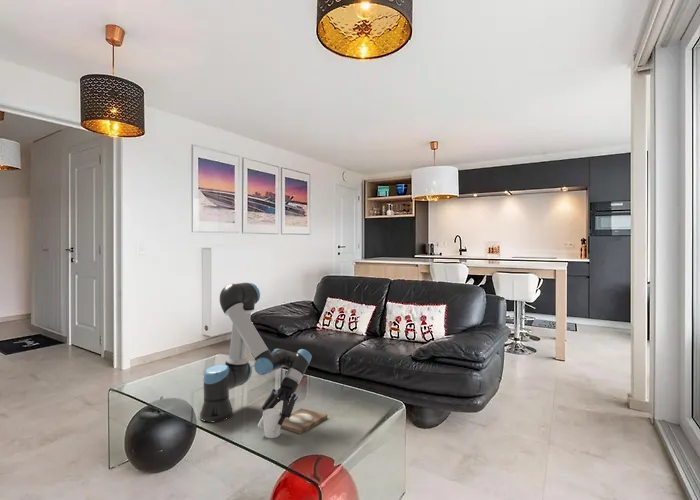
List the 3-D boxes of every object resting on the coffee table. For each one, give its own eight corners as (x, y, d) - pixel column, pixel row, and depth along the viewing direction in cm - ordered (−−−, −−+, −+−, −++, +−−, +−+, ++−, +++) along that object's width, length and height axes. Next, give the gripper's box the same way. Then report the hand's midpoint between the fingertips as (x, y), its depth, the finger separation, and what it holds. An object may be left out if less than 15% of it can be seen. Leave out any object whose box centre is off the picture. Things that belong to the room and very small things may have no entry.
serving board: (300, 433, 166) (300, 430, 166) (273, 425, 174) (273, 422, 174) (327, 417, 183) (327, 414, 183) (301, 411, 191) (301, 407, 191)
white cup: (282, 430, 169) (282, 407, 169) (280, 438, 161) (279, 414, 162) (264, 431, 169) (264, 408, 169) (261, 439, 161) (261, 415, 161)
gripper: (312, 388, 173) (289, 439, 159) (278, 381, 184) (254, 428, 170) (305, 380, 169) (280, 430, 155) (271, 373, 180) (244, 420, 166)
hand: (266, 429), depth 162 cm, fingers closed on white cup, 8 cm apart
